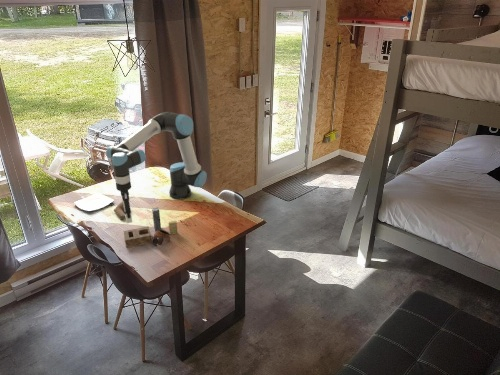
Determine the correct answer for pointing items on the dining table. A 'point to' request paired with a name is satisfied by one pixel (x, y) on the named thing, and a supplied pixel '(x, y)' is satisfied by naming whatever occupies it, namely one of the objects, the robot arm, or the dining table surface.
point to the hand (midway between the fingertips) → (128, 216)
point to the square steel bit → (156, 218)
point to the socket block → (137, 237)
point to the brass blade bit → (173, 227)
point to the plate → (94, 202)
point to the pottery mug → (160, 237)
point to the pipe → (120, 211)
